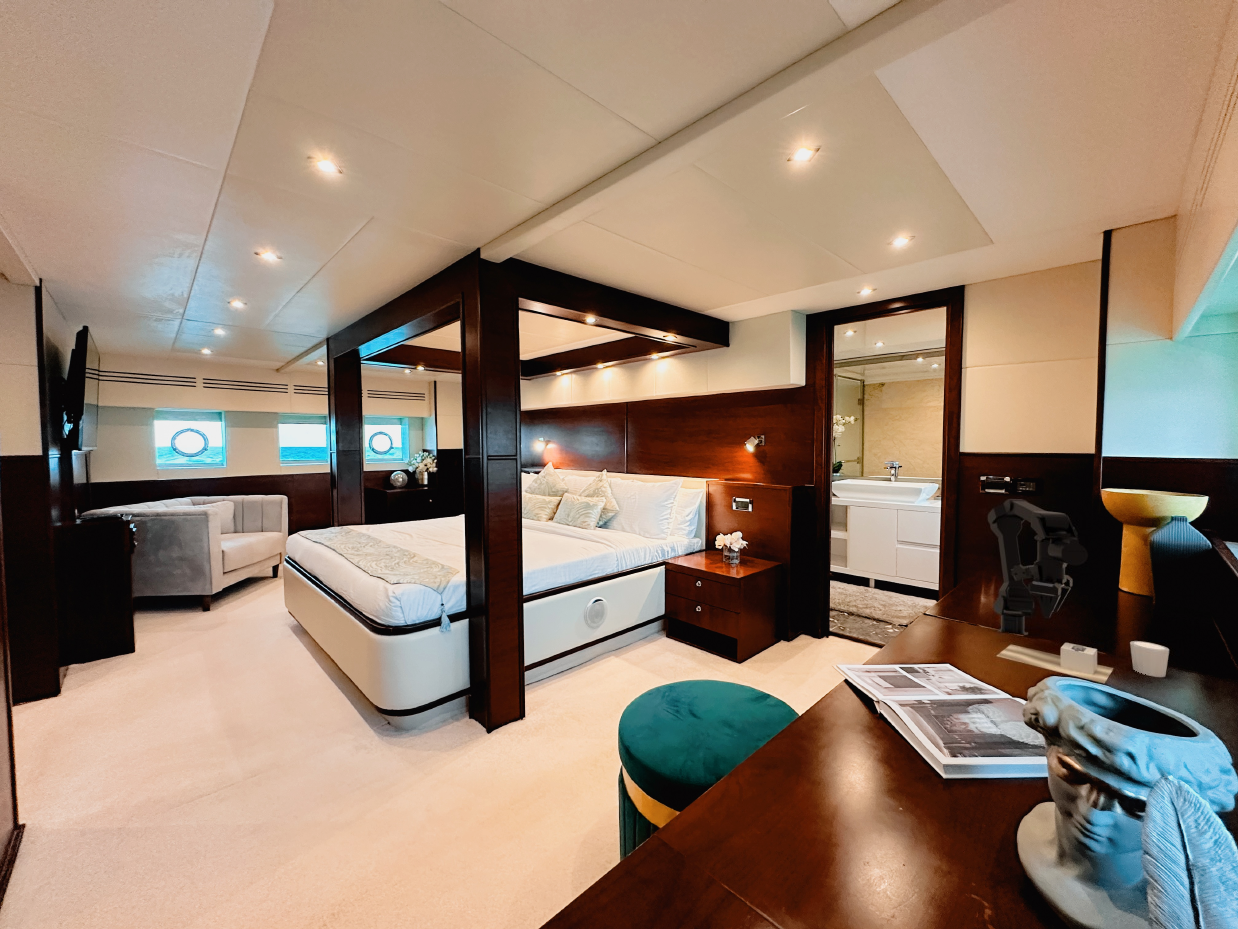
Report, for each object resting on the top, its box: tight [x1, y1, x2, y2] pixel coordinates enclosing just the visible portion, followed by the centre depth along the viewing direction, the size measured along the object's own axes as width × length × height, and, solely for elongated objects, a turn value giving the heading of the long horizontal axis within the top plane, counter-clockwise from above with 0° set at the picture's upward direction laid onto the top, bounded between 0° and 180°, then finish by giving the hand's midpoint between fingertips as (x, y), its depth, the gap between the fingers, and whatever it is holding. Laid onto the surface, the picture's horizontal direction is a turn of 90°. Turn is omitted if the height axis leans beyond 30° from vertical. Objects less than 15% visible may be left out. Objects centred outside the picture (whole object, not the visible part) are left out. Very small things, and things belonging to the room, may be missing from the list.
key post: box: [1075, 644, 1084, 652], centre depth 125 cm, size 3×1×6 cm, turn 128°
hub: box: [1060, 642, 1098, 675], centre depth 125 cm, size 6×6×5 cm
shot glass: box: [1129, 640, 1170, 678], centre depth 126 cm, size 7×7×7 cm
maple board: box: [996, 644, 1114, 684], centre depth 129 cm, size 14×21×2 cm, turn 38°
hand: (1050, 614), depth 135 cm, fingers open, 9 cm apart
